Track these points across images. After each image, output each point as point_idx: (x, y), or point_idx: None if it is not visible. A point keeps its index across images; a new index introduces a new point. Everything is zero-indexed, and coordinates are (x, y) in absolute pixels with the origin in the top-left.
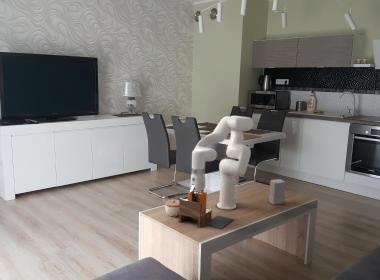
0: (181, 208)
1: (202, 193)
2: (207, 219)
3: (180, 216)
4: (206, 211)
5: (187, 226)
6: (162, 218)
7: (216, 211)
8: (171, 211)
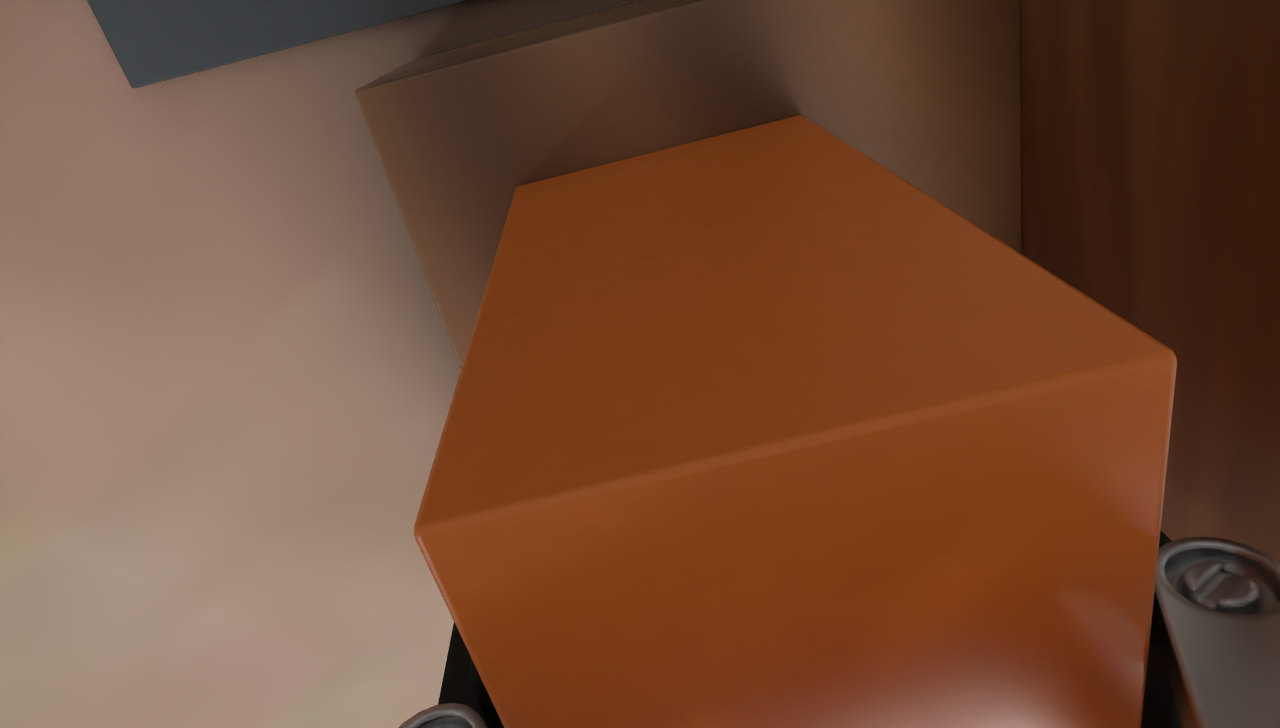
0: None
1: (826, 549)
2: (606, 13)
3: None
4: (571, 117)
5: None
6: None
7: (9, 302)
8: None
